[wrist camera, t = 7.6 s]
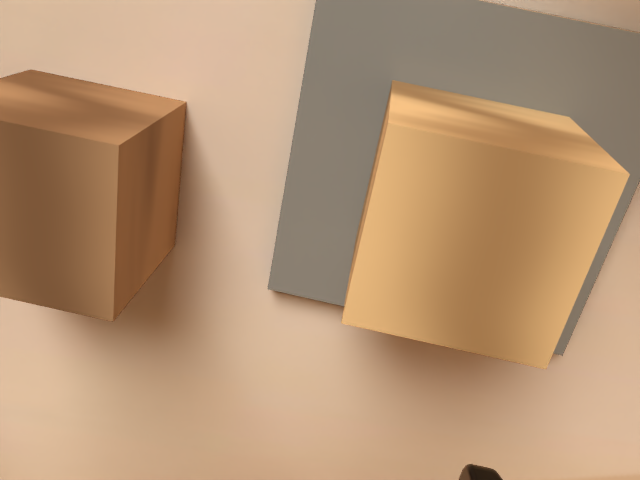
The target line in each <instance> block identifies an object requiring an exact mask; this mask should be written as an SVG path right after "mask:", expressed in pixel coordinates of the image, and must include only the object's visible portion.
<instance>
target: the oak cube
mask: <svg viewBox="0 0 640 480" xmlns="http://www.w3.org/2000/svg"><path fill="white" fill-rule="evenodd" d="M629 175H630V174H629V173H628V172H627V171H626V170H625V169H624V168H623V167H622V166H621V165H620V164H619V163H618V162H616V161H615V160H614V159H613V158H612V157H611V156H610V155H609V154H608V153H607V152H606V151H605V150H604V149H603V148H602V147H601V146H600V145H598V144H597V143H596V142H595V141H594V140H593V139H592V138H591V137H590V136H589V135H588V134H587V133H586V132H585V131H584V130H583V129H582V128H580V127H579V126H578V125H577V124H576V123H575V122H574V121H573V120H572V119H571V118H570V117H567V116H562V115H558V114H553V113H548V112H543V111H538V110H534V109H529V108H524V107H519V106H515V105H510V104H505V103H500V102H496V101H491V100H486V99H481V98H476V97H472V96H467V95H462V94H457V93H453V92H448V91H443V90H438V89H433V88H429V87H424V86H419V85H414V84H410V83H405V82H400V81H395V80H392V84H391V88H390V93H389V97H388V101H387V106H386V110H385V114H384V119H383V123H382V127H381V132H380V136H379V140H378V145H377V149H376V153H375V158H374V162H373V166H372V171H371V175H370V179H369V184H368V188H367V192H366V197H365V201H364V205H363V210H362V214H361V218H360V223H359V227H358V231H357V236H356V241H355V247H354V252H353V258H352V264H351V270H350V275H349V281H348V287H347V293H346V298H345V304H344V310H343V316H342V321H341V323H342V324H347V325H351V326H356V327H360V328H364V329H369V330H373V331H378V332H382V333H387V334H391V335H396V336H400V337H404V338H409V339H413V340H418V341H422V342H427V343H431V344H435V345H440V346H444V347H449V348H453V349H458V350H462V351H467V352H471V353H475V354H480V355H484V356H489V357H493V358H498V359H502V360H507V361H511V362H515V363H520V364H524V365H529V366H533V367H538V368H542V369H546V368H547V366H548V364H549V361H550V359H551V357H552V354H553V352H554V350H555V347H556V345H557V343H558V340H559V338H560V336H561V333H562V331H563V329H564V326H565V324H566V322H567V320H568V317H569V315H570V313H571V310H572V308H573V306H574V303H575V301H576V299H577V296H578V294H579V292H580V289H581V287H582V285H583V282H584V280H585V278H586V275H587V273H588V271H589V268H590V266H591V264H592V261H593V259H594V257H595V254H596V252H597V250H598V247H599V245H600V243H601V240H602V238H603V236H604V234H605V231H606V229H607V227H608V224H609V222H610V220H611V217H612V215H613V213H614V210H615V208H616V206H617V203H618V201H619V199H620V196H621V194H622V192H623V189H624V187H625V185H626V182H627V180H628V178H629Z"/></svg>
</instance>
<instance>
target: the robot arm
mask: <svg viewBox="0 0 640 480" xmlns="http://www.w3.org/2000/svg"><path fill="white" fill-rule="evenodd" d="M459 480H503V479H502V478H501V477H500V475H499V474H498V473H497V472H496V471H495V470H493V469H491V468H487V467H482V466H477V465H473V464H469V465H466V466H465V467H464V469H463V470H462V472H461V475H460V477H459Z"/></svg>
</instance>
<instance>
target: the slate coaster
mask: <svg viewBox="0 0 640 480" xmlns="http://www.w3.org/2000/svg"><path fill="white" fill-rule="evenodd" d="M392 80H395V81H400V82H405V83H410V84H414V85H419V86H424V87H429V88H433V89H438V90H443V91H448V92H453V93H457V94H462V95H467V96H472V97H476V98H481V99H486V100H491V101H496V102H500V103H505V104H510V105H515V106H519V107H524V108H529V109H534V110H538V111H543V112H548V113H553V114H558V115H562V116H567V117H570V118H571V119H572V120H573V121H574V122H575V123H576V124H577V125H578V126H579V127H580V128H582V129H583V130H584V131H585V132H586V133H587V134H588V135H589V136H590V137H591V138H592V139H593V140H594V141H595V142H596V143H597V144H598V145H600V146H601V147H602V148H603V149H604V150H605V151H606V152H607V153H608V154H609V155H610V156H611V157H612V158H613V159H614V160H615V161H616V162H618V163H619V164H620V165H621V166H622V167H623V168H624V169H625V170H626V171H627V172H628V173H629V174H630V175H629V178H628V180H627V182H626V185H625V187H624V189H623V192H622V194H621V196H620V199H619V201H618V203H617V206H616V208H615V210H614V213H613V215H612V217H611V220H610V222H609V224H608V227H607V229H606V231H605V234H604V236H603V238H602V240H601V243H600V245H599V247H598V250H597V252H596V254H595V257H594V259H593V261H592V264H591V266H590V268H589V271H588V273H587V275H586V278H585V280H584V282H583V285H582V287H581V289H580V292H579V294H578V296H577V299H576V301H575V303H574V306H573V308H572V310H571V313H570V315H569V317H568V320H567V322H566V324H565V326H564V329H563V331H562V333H561V336H560V338H559V340H558V343H557V345H556V347H555V350H554V352H553V354H558V355H562V356H563V353H564V351H565V349H566V347H567V344H568V342H569V340H570V338H571V335H572V333H573V331H574V328H575V326H576V324H577V322H578V319H579V317H580V315H581V313H582V310H583V308H584V306H585V304H586V301H587V299H588V297H589V294H590V292H591V290H592V288H593V285H594V283H595V281H596V279H597V276H598V274H599V272H600V270H601V267H602V265H603V263H604V260H605V258H606V256H607V254H608V251H609V249H610V247H611V245H612V242H613V240H614V238H615V236H616V233H617V231H618V229H619V226H620V224H621V222H622V220H623V217H624V215H625V213H626V211H627V208H628V206H629V204H630V202H631V199H632V197H633V195H634V192H635V190H636V188H637V186H638V183H639V181H640V32H635V31H630V30H625V29H620V28H615V27H610V26H605V25H601V24H596V23H591V22H586V21H581V20H576V19H571V18H566V17H562V16H557V15H552V14H547V13H542V12H537V11H532V10H527V9H522V8H518V7H513V6H508V5H503V4H498V3H493V2H488V1H483V0H316V4H315V10H314V16H313V22H312V28H311V34H310V40H309V46H308V52H307V58H306V64H305V70H304V75H303V81H302V87H301V93H300V99H299V105H298V111H297V117H296V123H295V129H294V135H293V141H292V147H291V153H290V159H289V165H288V171H287V177H286V183H285V189H284V195H283V201H282V207H281V212H280V218H279V224H278V230H277V236H276V242H275V248H274V254H273V260H272V266H271V272H270V278H269V284H268V289H269V290H274V291H278V292H282V293H287V294H291V295H296V296H300V297H305V298H309V299H314V300H318V301H322V302H327V303H331V304H336V305H340V306H344V304H345V298H346V293H347V287H348V281H349V275H350V270H351V264H352V258H353V252H354V247H355V241H356V236H357V231H358V227H359V223H360V218H361V214H362V210H363V205H364V201H365V197H366V192H367V188H368V184H369V179H370V175H371V171H372V166H373V162H374V158H375V153H376V149H377V145H378V140H379V136H380V132H381V127H382V123H383V119H384V114H385V110H386V106H387V101H388V97H389V93H390V88H391V84H392Z"/></svg>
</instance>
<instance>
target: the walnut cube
mask: <svg viewBox="0 0 640 480" xmlns="http://www.w3.org/2000/svg"><path fill="white" fill-rule="evenodd" d="M185 113H186V102H184V101H180V100H175V99H170V98H165V97H160V96H156V95H151V94H146V93H141V92H136V91H131V90H127V89H122V88H117V87H112V86H107V85H103V84H98V83H93V82H88V81H83V80H79V79H74V78H69V77H64V76H59V75H55V74H50V73H45V72H40V71H35V70H28V71H24V72H21V73H17V74H14V75H10V76H7V77H3V78H0V297H4V298H9V299H13V300H18V301H22V302H27V303H31V304H36V305H40V306H45V307H49V308H54V309H58V310H63V311H67V312H72V313H76V314H81V315H85V316H90V317H94V318H99V319H103V320H107V321H112V322H113V321H114V320H115V319H116V318H117V316H118V315H119V314H120V313H121V311H122V310H123V309H124V308H125V306H126V305H127V304H128V303H129V301H130V300H131V299H132V298H133V297H134V295H135V294H136V293H137V292H138V290H139V289H140V288H141V287H142V285H143V284H144V283H145V282H146V280H147V279H148V278H149V277H150V275H151V274H152V273H153V272H154V270H155V269H156V268H157V267H158V266H159V264H160V263H161V262H162V261H163V259H164V258H165V257H166V256H167V254H168V253H169V252H170V251H171V249H172V248H173V247H174V246H175V239H176V227H177V214H178V202H179V189H180V176H181V164H182V151H183V139H184V126H185Z"/></svg>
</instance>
